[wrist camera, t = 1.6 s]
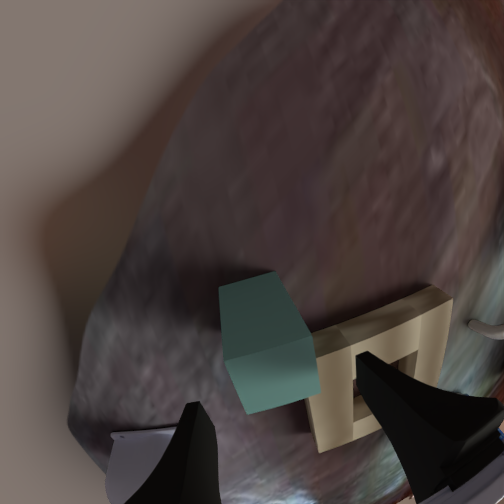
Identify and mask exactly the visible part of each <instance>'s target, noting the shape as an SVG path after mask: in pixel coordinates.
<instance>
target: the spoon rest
mask: <svg viewBox="0 0 504 504" xmlns="http://www.w3.org/2000/svg"><path fill="white" fill-rule="evenodd" d="M468 327H469V328H470V329H472V330H474V331H475V332H478V333H480V334H482V335H484V336H486V337H489V338H491V339H496V340H502V339H504V324H502V325H498V326H492V325H488V324H485V323H483V322H480V321H478V320H474V319H473V320H471V321H470V322H469V323H468Z"/></svg>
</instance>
